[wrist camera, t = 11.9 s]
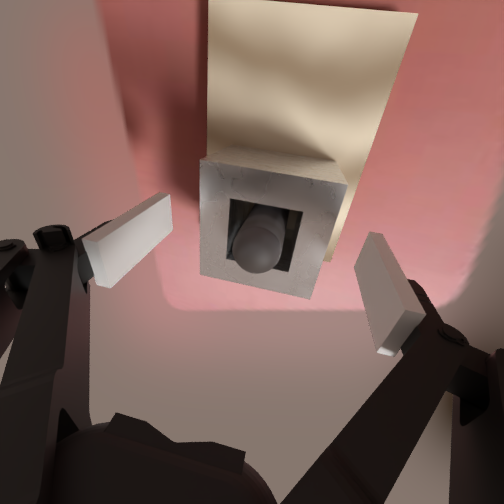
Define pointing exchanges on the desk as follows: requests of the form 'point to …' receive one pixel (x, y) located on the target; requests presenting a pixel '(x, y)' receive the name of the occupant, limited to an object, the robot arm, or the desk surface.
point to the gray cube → (273, 194)
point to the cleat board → (298, 96)
